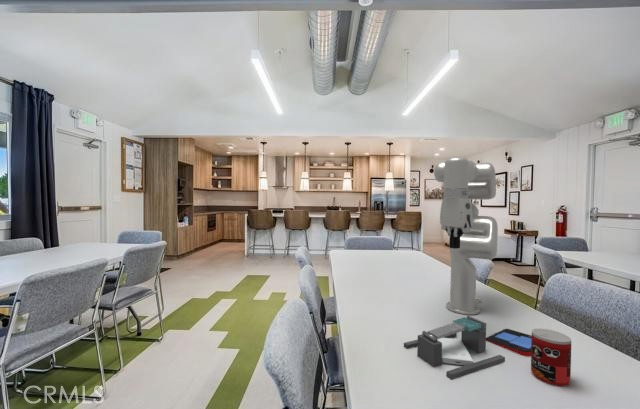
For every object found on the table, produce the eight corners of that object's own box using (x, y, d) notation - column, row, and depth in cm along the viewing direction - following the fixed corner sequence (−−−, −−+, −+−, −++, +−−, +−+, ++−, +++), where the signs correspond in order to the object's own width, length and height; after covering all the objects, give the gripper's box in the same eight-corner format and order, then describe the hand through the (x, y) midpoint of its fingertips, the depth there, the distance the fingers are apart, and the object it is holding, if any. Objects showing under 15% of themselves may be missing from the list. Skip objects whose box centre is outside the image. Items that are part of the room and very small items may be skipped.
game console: (505, 331, 100) (505, 325, 100) (549, 347, 89) (549, 340, 89) (483, 341, 93) (483, 334, 93) (528, 360, 82) (528, 352, 82)
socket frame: (452, 334, 96) (453, 309, 96) (504, 361, 80) (505, 331, 80) (403, 346, 87) (404, 318, 87) (451, 379, 71) (451, 345, 71)
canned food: (523, 369, 76) (524, 328, 76) (551, 368, 77) (551, 327, 77) (548, 387, 69) (549, 342, 69) (579, 386, 69) (580, 341, 69)
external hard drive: (461, 344, 89) (474, 366, 77) (433, 341, 90) (442, 362, 78) (461, 339, 89) (474, 360, 77) (433, 336, 90) (442, 357, 78)
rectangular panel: (464, 320, 89) (464, 316, 89) (481, 327, 84) (480, 323, 84) (420, 334, 82) (420, 330, 82) (435, 343, 77) (435, 339, 77)
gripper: (483, 194, 92) (482, 251, 92) (445, 195, 106) (444, 244, 106) (467, 193, 89) (466, 252, 89) (430, 194, 103) (429, 245, 103)
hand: (454, 247), depth 97 cm, fingers closed
